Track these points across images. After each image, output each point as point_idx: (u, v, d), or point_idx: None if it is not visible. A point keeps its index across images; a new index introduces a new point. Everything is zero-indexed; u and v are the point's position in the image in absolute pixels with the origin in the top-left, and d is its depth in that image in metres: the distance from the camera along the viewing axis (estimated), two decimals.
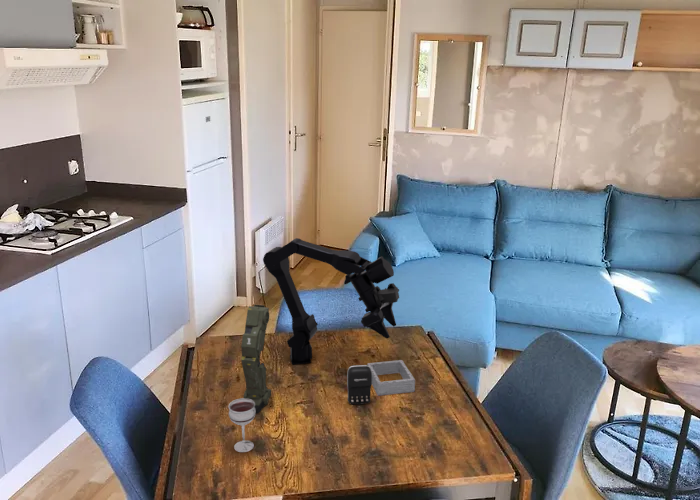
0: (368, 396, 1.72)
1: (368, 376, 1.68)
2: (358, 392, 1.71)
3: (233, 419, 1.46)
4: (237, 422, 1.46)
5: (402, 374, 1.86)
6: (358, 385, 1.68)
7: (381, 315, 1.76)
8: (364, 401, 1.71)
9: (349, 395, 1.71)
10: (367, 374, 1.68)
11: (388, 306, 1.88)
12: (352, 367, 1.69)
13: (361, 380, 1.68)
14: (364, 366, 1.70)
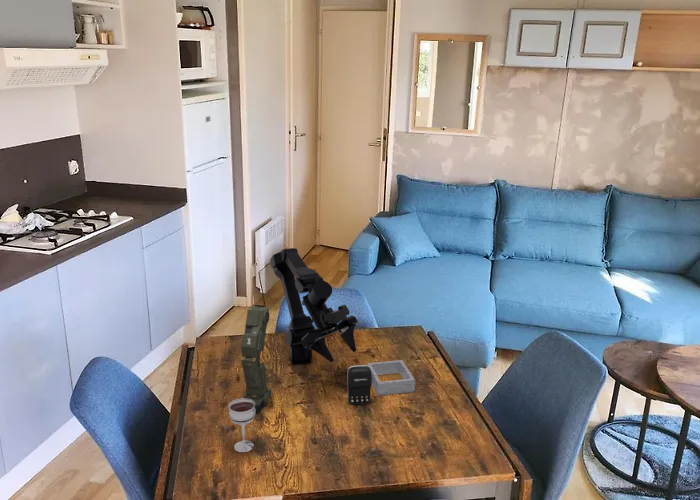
0: (368, 396, 1.72)
1: (368, 376, 1.68)
2: (358, 392, 1.71)
3: (233, 419, 1.46)
4: (237, 422, 1.46)
5: (402, 374, 1.86)
6: (358, 385, 1.68)
7: (317, 336, 1.68)
8: (364, 401, 1.71)
9: (349, 395, 1.71)
10: (367, 374, 1.68)
11: (347, 330, 1.77)
12: (352, 367, 1.69)
13: (361, 380, 1.68)
14: (364, 366, 1.70)
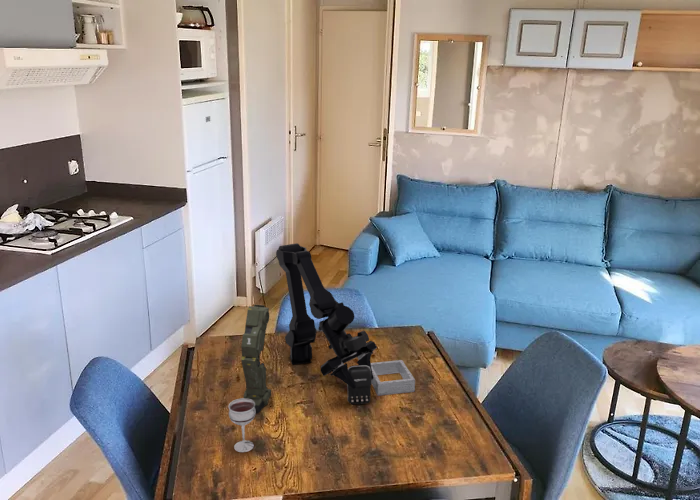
0: (368, 396, 1.72)
1: (367, 376, 1.68)
2: (358, 392, 1.71)
3: (233, 419, 1.46)
4: (237, 422, 1.46)
5: (402, 374, 1.86)
6: (358, 385, 1.68)
7: (337, 364, 1.64)
8: (364, 401, 1.71)
9: (349, 395, 1.71)
10: (366, 375, 1.68)
11: (364, 357, 1.73)
12: (352, 367, 1.69)
13: (360, 380, 1.68)
14: (364, 366, 1.69)
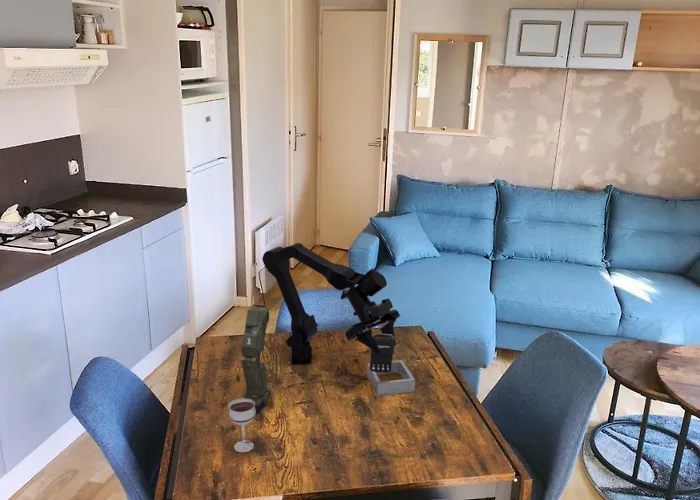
0: (389, 365, 1.77)
1: (390, 343, 1.74)
2: (380, 360, 1.77)
3: (233, 419, 1.46)
4: (237, 422, 1.46)
5: (402, 374, 1.86)
6: (380, 352, 1.74)
7: (362, 328, 1.71)
8: (385, 369, 1.77)
9: (371, 362, 1.77)
10: (390, 342, 1.74)
11: (387, 324, 1.79)
12: (376, 334, 1.76)
13: (383, 347, 1.74)
14: (388, 335, 1.76)
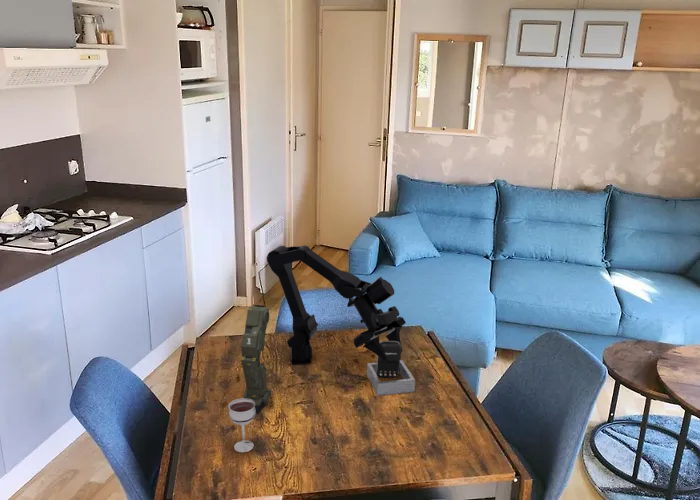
0: (396, 371, 1.81)
1: (397, 350, 1.78)
2: (387, 366, 1.81)
3: (233, 419, 1.46)
4: (237, 422, 1.46)
5: (402, 374, 1.86)
6: (388, 359, 1.78)
7: (370, 336, 1.75)
8: (392, 376, 1.81)
9: (378, 369, 1.81)
10: (397, 349, 1.78)
11: (394, 331, 1.83)
12: (383, 341, 1.79)
13: (391, 354, 1.78)
14: (394, 342, 1.80)
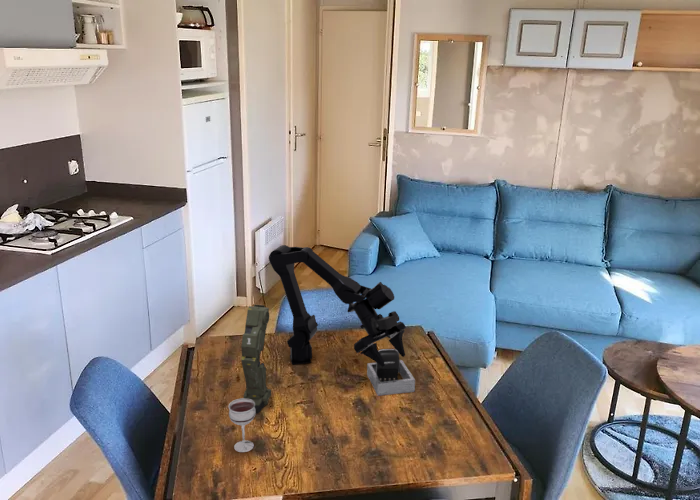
0: (395, 378, 1.82)
1: (395, 359, 1.78)
2: (386, 374, 1.81)
3: (233, 419, 1.46)
4: (237, 422, 1.46)
5: (402, 374, 1.86)
6: (386, 367, 1.79)
7: (370, 341, 1.75)
8: None
9: (378, 377, 1.82)
10: (395, 358, 1.78)
11: (396, 335, 1.84)
12: (381, 350, 1.79)
13: (389, 363, 1.78)
14: (392, 350, 1.80)
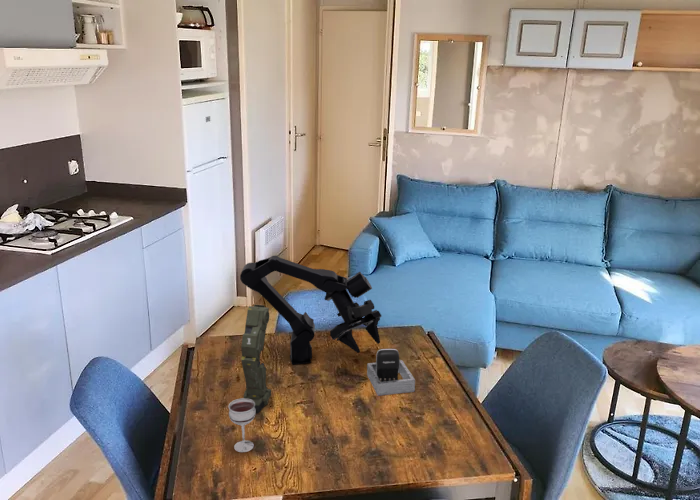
0: (395, 378, 1.82)
1: (395, 359, 1.78)
2: (386, 374, 1.82)
3: (233, 419, 1.46)
4: (237, 422, 1.46)
5: (402, 374, 1.86)
6: (386, 367, 1.79)
7: (345, 328, 1.81)
8: None
9: (378, 377, 1.82)
10: (394, 357, 1.78)
11: (372, 323, 1.91)
12: (381, 350, 1.79)
13: (389, 363, 1.78)
14: (392, 350, 1.80)
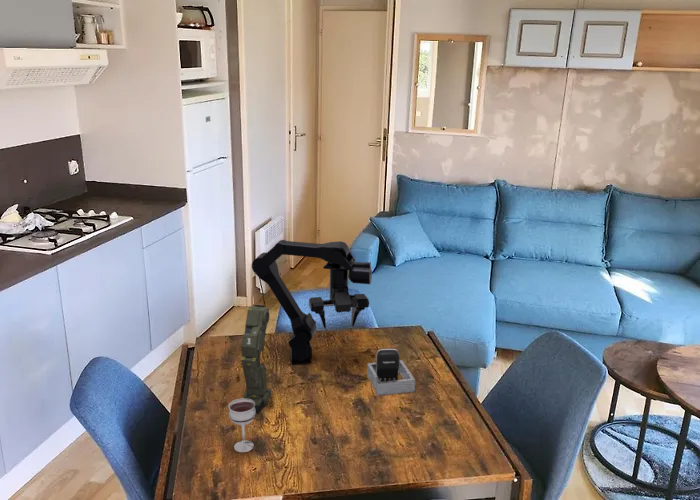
0: (395, 378, 1.82)
1: (395, 359, 1.78)
2: (386, 374, 1.82)
3: (233, 419, 1.46)
4: (237, 422, 1.46)
5: (402, 374, 1.86)
6: (386, 367, 1.79)
7: (318, 310, 1.85)
8: None
9: (378, 377, 1.82)
10: (394, 357, 1.78)
11: (355, 308, 1.89)
12: (381, 350, 1.79)
13: (389, 363, 1.78)
14: (392, 350, 1.80)
